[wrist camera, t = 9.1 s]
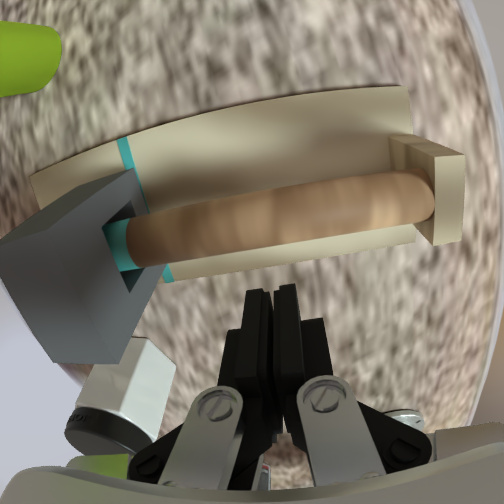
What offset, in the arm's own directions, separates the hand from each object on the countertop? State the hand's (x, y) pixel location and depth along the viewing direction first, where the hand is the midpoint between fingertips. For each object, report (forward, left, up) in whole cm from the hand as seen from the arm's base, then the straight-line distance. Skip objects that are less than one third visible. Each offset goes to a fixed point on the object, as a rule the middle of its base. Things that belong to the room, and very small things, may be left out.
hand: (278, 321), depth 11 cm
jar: (-15, +17, -13) cm, 26 cm away
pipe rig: (+1, +4, -13) cm, 14 cm away
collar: (+1, +11, -11) cm, 16 cm away
